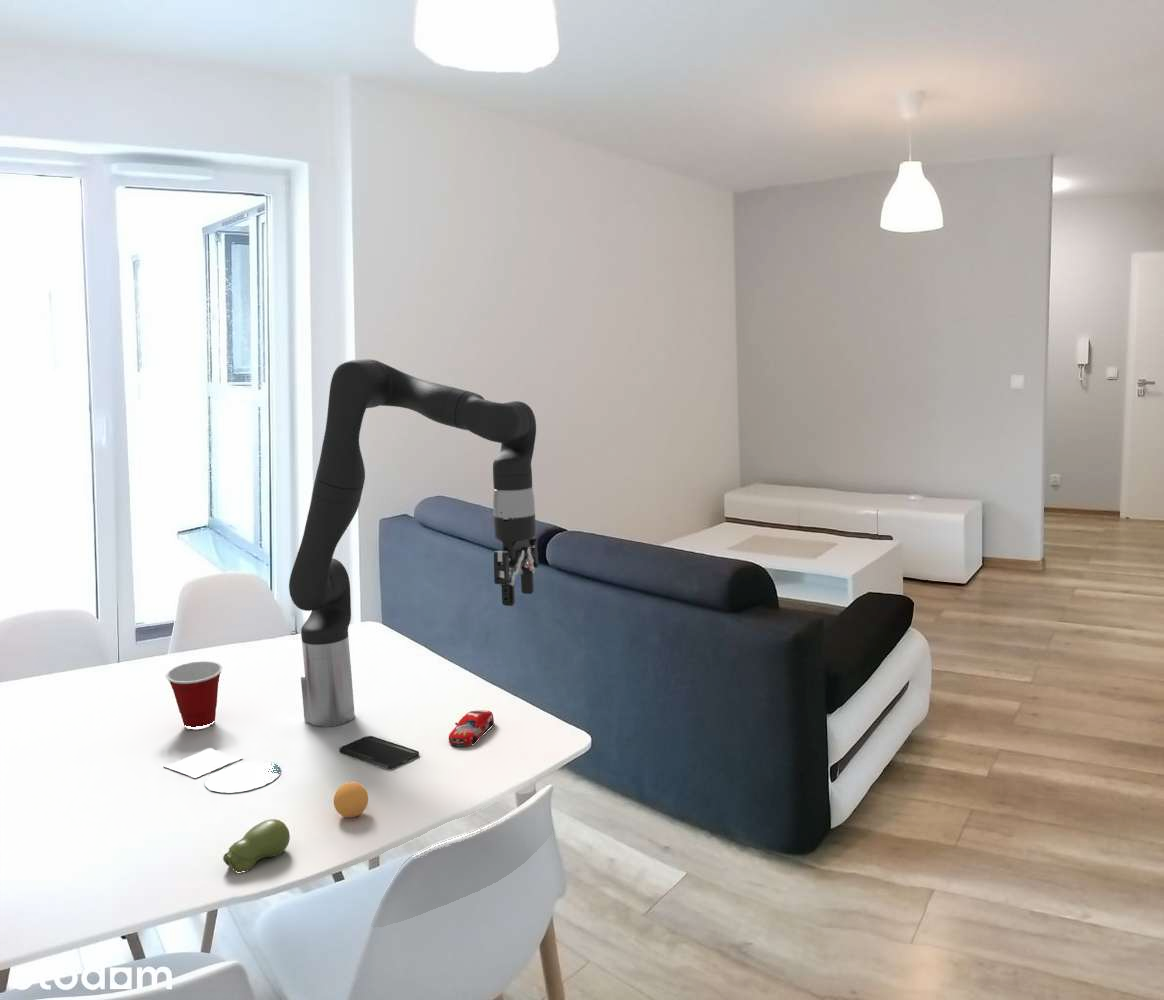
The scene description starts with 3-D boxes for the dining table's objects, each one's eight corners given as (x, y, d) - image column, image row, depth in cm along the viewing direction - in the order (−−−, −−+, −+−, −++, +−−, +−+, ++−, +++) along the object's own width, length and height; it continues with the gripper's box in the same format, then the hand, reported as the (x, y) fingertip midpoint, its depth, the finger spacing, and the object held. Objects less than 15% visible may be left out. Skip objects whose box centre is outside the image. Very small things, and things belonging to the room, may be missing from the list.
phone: (368, 735, 194) (421, 752, 185) (369, 740, 194) (422, 757, 185) (336, 748, 188) (389, 767, 179) (336, 754, 188) (389, 772, 179)
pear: (292, 819, 150) (231, 855, 143) (300, 849, 151) (240, 886, 144) (272, 808, 154) (213, 843, 147) (280, 837, 155) (222, 873, 148)
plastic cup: (172, 739, 197) (165, 681, 195) (170, 721, 207) (164, 666, 205) (230, 729, 202) (224, 672, 200) (225, 712, 211) (220, 657, 209)
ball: (328, 821, 161) (325, 789, 160) (347, 806, 166) (344, 774, 165) (357, 825, 159) (354, 793, 158) (375, 810, 164) (373, 778, 163)
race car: (470, 751, 187) (468, 730, 186) (444, 748, 189) (442, 728, 188) (499, 724, 199) (497, 705, 199) (474, 722, 201) (473, 703, 200)
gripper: (511, 505, 189) (515, 588, 191) (478, 518, 175) (482, 608, 178) (548, 506, 186) (552, 590, 188) (516, 520, 173) (521, 610, 175)
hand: (518, 599), depth 183 cm, fingers open, 8 cm apart
